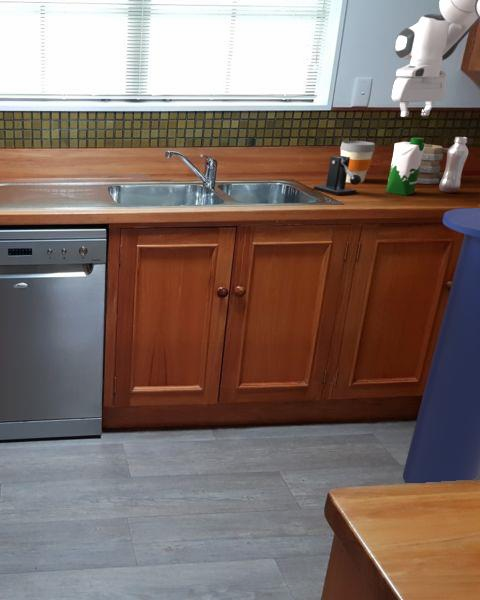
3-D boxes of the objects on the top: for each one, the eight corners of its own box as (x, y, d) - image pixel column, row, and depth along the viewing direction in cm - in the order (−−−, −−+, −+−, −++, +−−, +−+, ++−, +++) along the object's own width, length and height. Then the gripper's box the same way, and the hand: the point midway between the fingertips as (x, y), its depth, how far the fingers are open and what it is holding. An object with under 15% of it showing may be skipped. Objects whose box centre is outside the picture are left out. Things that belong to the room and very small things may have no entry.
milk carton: (407, 196, 219) (419, 139, 212) (382, 192, 226) (393, 137, 218) (417, 193, 225) (429, 137, 217) (392, 189, 231) (403, 135, 224)
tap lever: (359, 186, 218) (365, 178, 216) (351, 187, 217) (357, 179, 214) (338, 162, 225) (343, 155, 223) (331, 163, 224) (336, 155, 221)
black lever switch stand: (356, 193, 223) (362, 158, 219) (337, 195, 220) (343, 159, 215) (331, 187, 234) (337, 153, 229) (313, 189, 230) (318, 154, 225)
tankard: (404, 182, 243) (412, 144, 238) (401, 177, 254) (409, 140, 248) (461, 186, 236) (470, 147, 231) (456, 181, 247) (465, 143, 241)
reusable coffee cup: (328, 178, 251) (334, 141, 245) (356, 177, 253) (363, 140, 247) (346, 184, 239) (353, 145, 233) (375, 183, 241) (382, 144, 236)
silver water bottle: (442, 189, 231) (454, 135, 224) (461, 192, 226) (475, 137, 219) (434, 191, 227) (447, 137, 220) (454, 194, 223) (468, 139, 215)
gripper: (438, 70, 198) (428, 114, 203) (392, 70, 191) (383, 116, 196) (455, 70, 193) (445, 116, 198) (410, 71, 185) (400, 118, 190)
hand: (414, 116), depth 197 cm, fingers open, 8 cm apart
